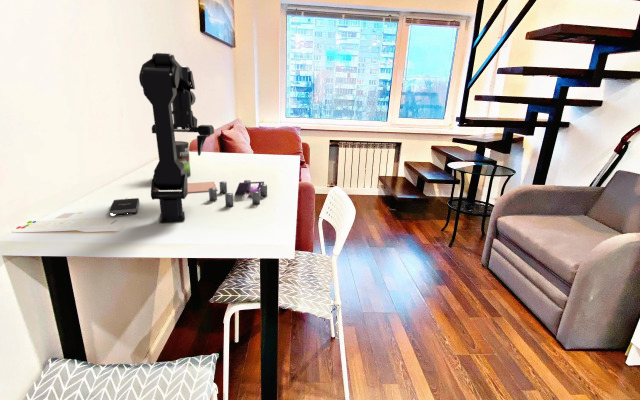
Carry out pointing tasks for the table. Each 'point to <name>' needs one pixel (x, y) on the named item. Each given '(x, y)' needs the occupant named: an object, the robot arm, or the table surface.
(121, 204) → the external hard drive
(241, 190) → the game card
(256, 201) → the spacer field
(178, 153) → the coffee can
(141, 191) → the table surface
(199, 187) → the mat
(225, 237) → the table surface
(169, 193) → the robot arm
